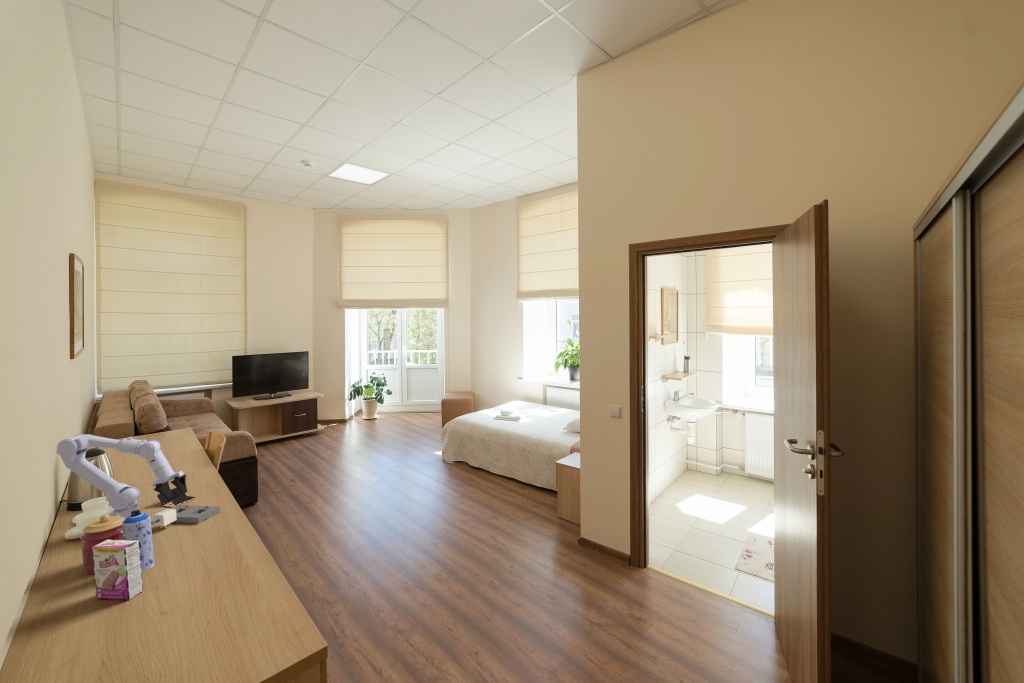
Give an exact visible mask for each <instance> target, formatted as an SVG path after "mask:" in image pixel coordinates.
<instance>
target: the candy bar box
mask: <svg viewBox="0 0 1024 683" xmlns="http://www.w3.org/2000/svg"><path fill="white" fill-rule="evenodd" d="M92 551H93V562H94V572H95V574H94V580H95V594H96V599H97V600H114V601H116V600H117V601H118V600H119V601H130V600H132V599H133V597H134V598H135V597H136V596H138V595H139V594H141V593H143V592H144V586H143V585H144V584H143V575H142V574H143V572H142V571H141V559H140V546H139V541H137V540H105V541H103V542H101V543H99V544H98V545H95V546H93V547H92ZM140 592H141V593H140ZM137 594H138V595H137Z"/></svg>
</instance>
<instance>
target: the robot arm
mask: <svg viewBox="0 0 1024 683" xmlns="http://www.w3.org/2000/svg"><path fill="white" fill-rule="evenodd" d="M94 447H96V448H105V449H115V450H117V451H118V452H119V453H123V454H131V455H138V456H139V457H140V458H144V460H146V462H147V464H148V466H149V468H151V470H152V473H153V474H154V476H155V477H156V480H154V481H153V482H151V485H152V487H153V490H154V491H155V492H157V493H158V494H160V493H161V494H162V495H163V496H164V497H166V498H167V499H168V500H169V499H171V498H172V497H173V494H172V492H171V488H170V483H171V484H172V485H173V486H174V487H175V488H176V487H177V488H178V490H179V491H180V493H181V494H184V493H185V494H186V493H187V492H188V489H187V484H186V479H187V475H186V474H184V472H183V470H180V471H174V470H173V468H172V466H171V464H170V463H169V461H168V460H167V458H166V457H165V455H164V453H163V451H162V450H161V449H162V445H161V443H160V441H158V440H155V439H150V440H147V439H134V437H132V436H129V437H125V438H123V439H115V438H110V437H104V436H98V435H93V434H85V433H78V434H76V435H75V434H74V435H73V436H71V437H68V438H63V439H62V440H60V441H59V442H58V443H57V445H56V451H55V452H56V454H57V455H59V456H60V459H61V460H62V462H63V465H64V467H66V468H67V469H68V470H70V471H71V472H73V473H74V474H75V475H77V476H79V478H81V479H82V480H84V481H86V482H87V483H89V484H90V485H91V486H93V487H95V489H97V490H98V491H100V492H102V493H103V494H105V501H107V502H108V503H109V505H110V507H111V508H112V509H114V510H113V511H112V512H110V513H108V515H109V516H110V517H111V516H120V517H124V518H127V517H129V516H130V515H131V511H134V510H139V505H138V499H139V497H140V496H141V492H140V489H138V488H137V487H135V486H131V485H128V484H127V483H122V482H121V483H120V482H118V481H117V480H116V479H114V478H113V477H111V476H110V475H108V474H107V473H106V472H104V471H103V470H101V469H100V468H99V467H97V466H96V465H95V464H94V463H91V462H90V461H88V460H87V459H86V454H87V453H86V452H87V450H88V449H90V448H94ZM169 482H170V483H169Z"/></svg>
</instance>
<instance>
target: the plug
mask: <svg viewBox="0 0 1024 683" xmlns="http://www.w3.org/2000/svg"><path fill="white" fill-rule="evenodd" d="M152 516H153V526H154V527H160V528H163V529H165V528H167V529H168V527H167V526H169V525H170V526H171V523H174V521H176V520H177V517H176V509H173V508H164V509H162V510H161V511H159V512H156V513H153V515H152ZM170 526H169V527H170Z"/></svg>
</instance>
